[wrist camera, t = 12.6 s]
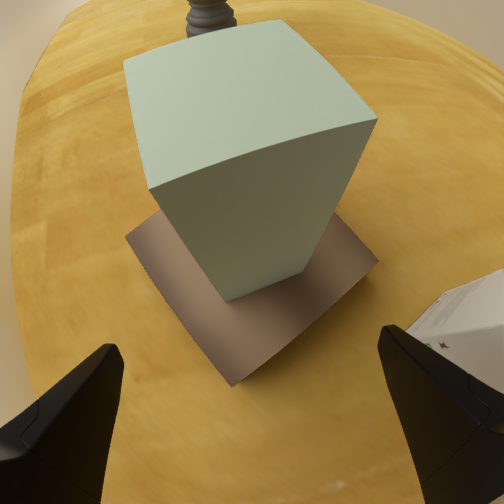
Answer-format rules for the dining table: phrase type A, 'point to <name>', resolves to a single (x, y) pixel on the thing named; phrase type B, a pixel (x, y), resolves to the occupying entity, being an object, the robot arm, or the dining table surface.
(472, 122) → the dining table surface
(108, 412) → the robot arm
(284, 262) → the sage pillar block
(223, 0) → the candle holder
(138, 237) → the walnut block
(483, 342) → the skincare box
